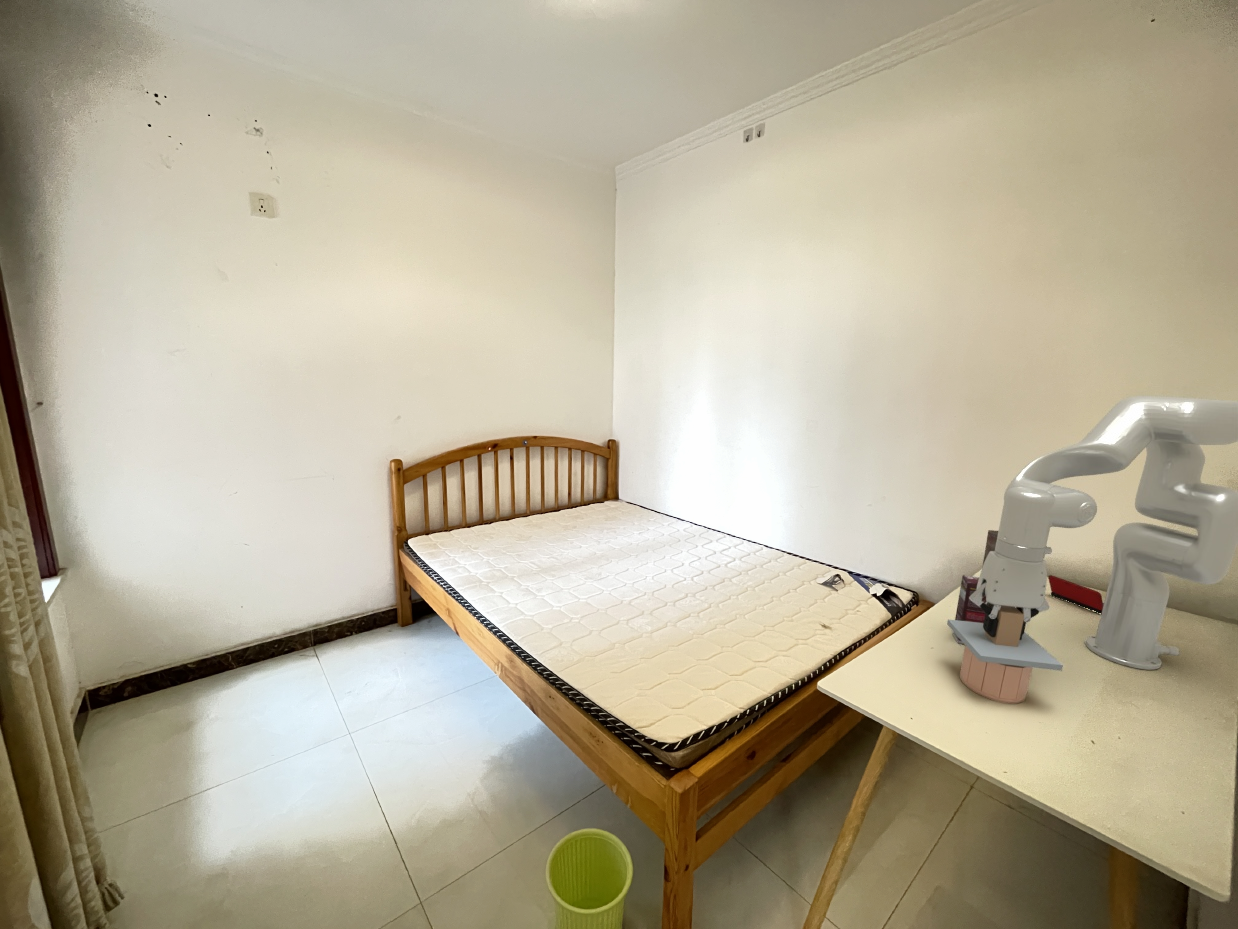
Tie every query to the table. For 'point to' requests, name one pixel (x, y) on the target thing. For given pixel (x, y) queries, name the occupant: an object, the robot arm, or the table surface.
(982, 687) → the bowl
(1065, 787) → the table surface
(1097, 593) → the red slanted piece
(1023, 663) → the cover
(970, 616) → the supplement box
